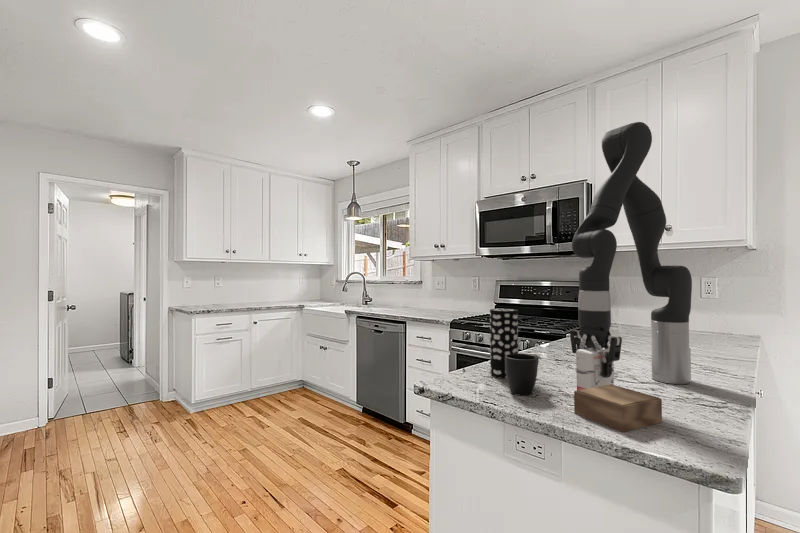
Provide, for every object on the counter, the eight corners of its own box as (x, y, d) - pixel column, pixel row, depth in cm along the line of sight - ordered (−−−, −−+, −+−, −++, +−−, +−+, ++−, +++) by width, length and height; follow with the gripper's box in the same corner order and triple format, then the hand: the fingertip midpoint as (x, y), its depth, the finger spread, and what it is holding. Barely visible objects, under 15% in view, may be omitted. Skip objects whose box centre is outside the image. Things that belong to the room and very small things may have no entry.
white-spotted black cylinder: (521, 378, 123) (521, 311, 123) (493, 378, 123) (493, 311, 123) (514, 371, 131) (513, 308, 131) (488, 371, 131) (487, 308, 131)
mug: (551, 390, 110) (551, 354, 111) (526, 399, 103) (525, 361, 103) (524, 384, 117) (524, 350, 117) (498, 392, 109) (498, 356, 109)
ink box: (591, 401, 101) (591, 352, 101) (575, 395, 105) (574, 349, 106) (615, 396, 105) (614, 349, 105) (598, 391, 109) (597, 346, 109)
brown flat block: (611, 405, 98) (611, 383, 98) (661, 422, 87) (661, 397, 87) (574, 413, 93) (574, 390, 93) (623, 432, 82) (622, 405, 82)
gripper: (630, 310, 100) (630, 379, 100) (581, 305, 114) (582, 366, 113) (608, 311, 97) (609, 382, 97) (561, 306, 110) (562, 369, 110)
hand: (594, 373), depth 105 cm, fingers open, 6 cm apart
